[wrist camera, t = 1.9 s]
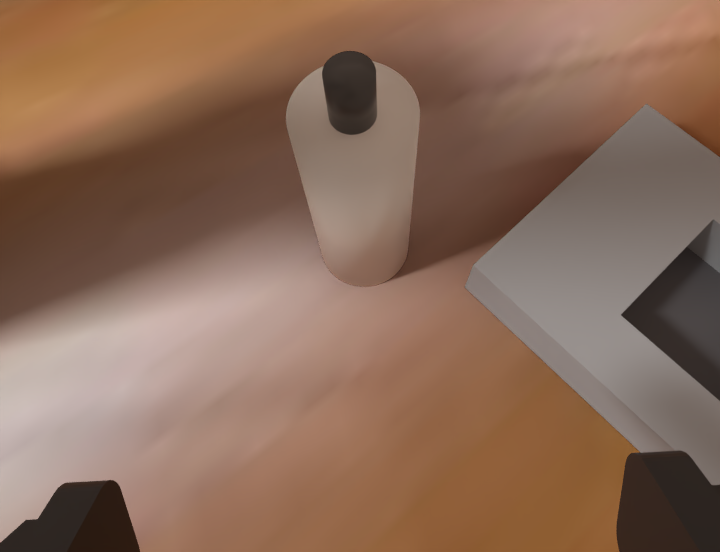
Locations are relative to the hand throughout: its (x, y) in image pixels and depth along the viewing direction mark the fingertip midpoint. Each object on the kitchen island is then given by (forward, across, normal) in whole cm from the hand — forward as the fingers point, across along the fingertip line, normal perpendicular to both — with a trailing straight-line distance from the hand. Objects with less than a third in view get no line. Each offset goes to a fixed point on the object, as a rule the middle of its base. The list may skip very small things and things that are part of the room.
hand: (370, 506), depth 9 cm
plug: (+20, 0, +4) cm, 21 cm away
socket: (+17, -15, +8) cm, 24 cm away
